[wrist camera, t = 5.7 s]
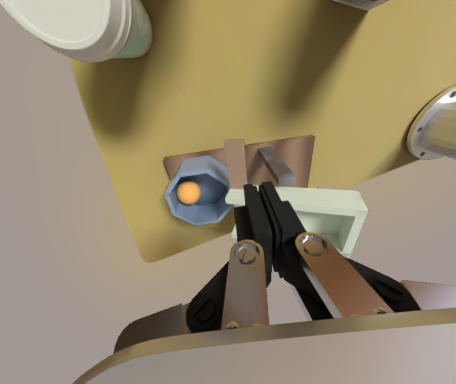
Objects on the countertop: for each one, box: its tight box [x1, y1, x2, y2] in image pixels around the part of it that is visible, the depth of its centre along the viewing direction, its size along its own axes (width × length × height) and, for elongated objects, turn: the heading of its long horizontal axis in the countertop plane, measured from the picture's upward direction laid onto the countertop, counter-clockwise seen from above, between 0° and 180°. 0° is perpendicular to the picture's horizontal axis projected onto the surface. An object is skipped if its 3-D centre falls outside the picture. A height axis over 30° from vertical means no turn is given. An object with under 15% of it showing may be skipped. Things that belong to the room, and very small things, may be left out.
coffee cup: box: [0, 0, 153, 63], centre depth 15 cm, size 8×8×12 cm
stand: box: [163, 135, 315, 188], centre depth 27 cm, size 26×11×12 cm, turn 97°
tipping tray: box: [224, 139, 368, 258], centre depth 20 cm, size 14×13×5 cm
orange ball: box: [177, 181, 201, 204], centre depth 29 cm, size 4×4×4 cm
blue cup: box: [164, 155, 234, 226], centre depth 29 cm, size 10×10×6 cm
